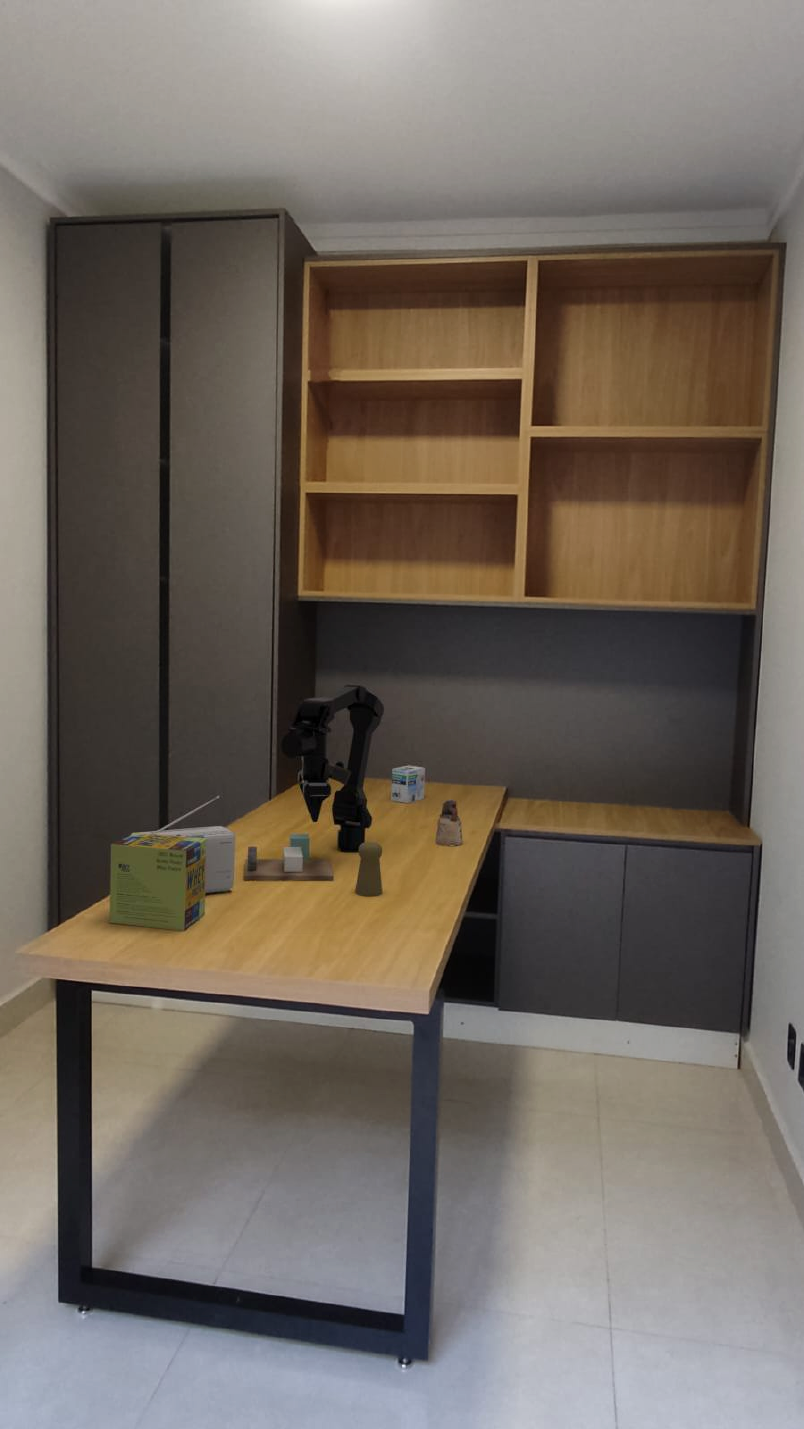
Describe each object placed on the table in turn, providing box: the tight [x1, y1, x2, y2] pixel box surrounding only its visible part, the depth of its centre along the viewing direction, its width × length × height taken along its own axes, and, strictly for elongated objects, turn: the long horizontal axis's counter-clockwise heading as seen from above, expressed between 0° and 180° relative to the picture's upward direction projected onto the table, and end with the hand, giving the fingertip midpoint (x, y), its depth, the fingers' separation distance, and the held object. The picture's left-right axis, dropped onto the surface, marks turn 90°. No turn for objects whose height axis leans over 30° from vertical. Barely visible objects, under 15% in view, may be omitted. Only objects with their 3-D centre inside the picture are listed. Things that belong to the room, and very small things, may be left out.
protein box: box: [109, 832, 206, 932], centre depth 182 cm, size 10×15×16 cm
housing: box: [282, 846, 303, 872], centre depth 219 cm, size 4×9×4 cm, turn 9°
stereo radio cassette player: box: [130, 795, 236, 894], centre depth 199 cm, size 21×8×20 cm, turn 121°
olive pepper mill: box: [354, 841, 383, 898], centre depth 206 cm, size 6×6×11 cm
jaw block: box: [289, 833, 310, 859], centre depth 231 cm, size 4×4×6 cm
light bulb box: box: [390, 764, 426, 804], centre depth 312 cm, size 11×7×11 cm, turn 147°
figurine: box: [435, 799, 463, 846], centre depth 254 cm, size 7×7×12 cm
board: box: [243, 846, 335, 882], centre depth 219 cm, size 20×14×5 cm
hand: (313, 817), depth 225 cm, fingers open, 9 cm apart
